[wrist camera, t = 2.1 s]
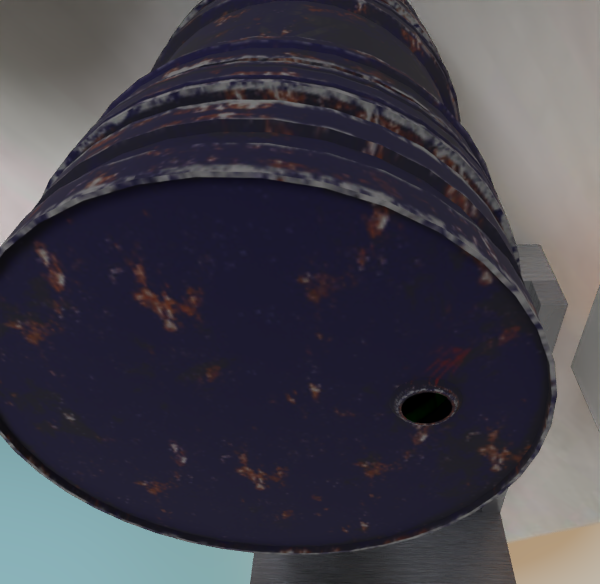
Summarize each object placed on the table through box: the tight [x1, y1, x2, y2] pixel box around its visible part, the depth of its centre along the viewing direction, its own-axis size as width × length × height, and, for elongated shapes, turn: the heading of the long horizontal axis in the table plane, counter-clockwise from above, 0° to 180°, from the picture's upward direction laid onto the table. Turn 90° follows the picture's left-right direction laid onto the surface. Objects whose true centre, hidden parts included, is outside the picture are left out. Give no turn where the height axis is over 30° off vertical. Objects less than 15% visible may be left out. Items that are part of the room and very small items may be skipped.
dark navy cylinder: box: [0, 0, 557, 555], centre depth 15 cm, size 10×10×15 cm
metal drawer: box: [250, 245, 568, 584], centre depth 26 cm, size 17×14×11 cm
